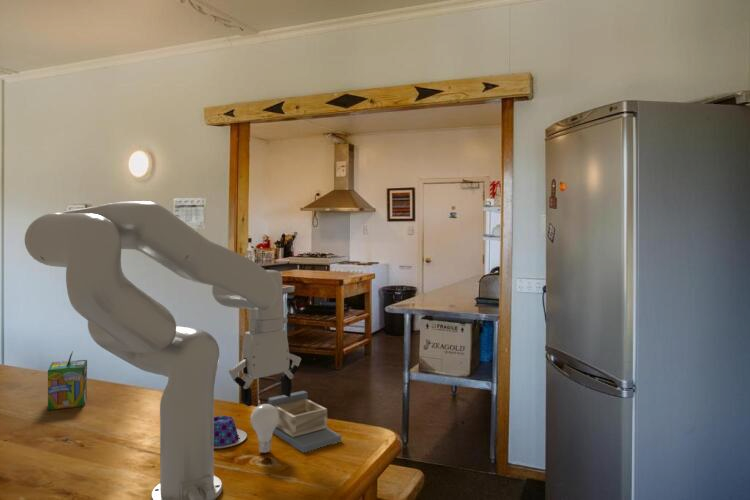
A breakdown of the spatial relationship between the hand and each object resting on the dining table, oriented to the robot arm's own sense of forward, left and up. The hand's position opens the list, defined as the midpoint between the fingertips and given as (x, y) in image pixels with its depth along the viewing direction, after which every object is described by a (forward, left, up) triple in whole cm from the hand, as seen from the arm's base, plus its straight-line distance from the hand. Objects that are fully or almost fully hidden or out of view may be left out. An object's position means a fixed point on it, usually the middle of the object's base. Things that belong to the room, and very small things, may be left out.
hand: (267, 399), depth 116 cm
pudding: (+13, +6, -12) cm, 19 cm away
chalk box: (+64, +31, -12) cm, 72 cm away
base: (+3, -11, -12) cm, 17 cm away
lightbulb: (0, +1, -12) cm, 12 cm away
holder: (+5, -11, -10) cm, 16 cm away
